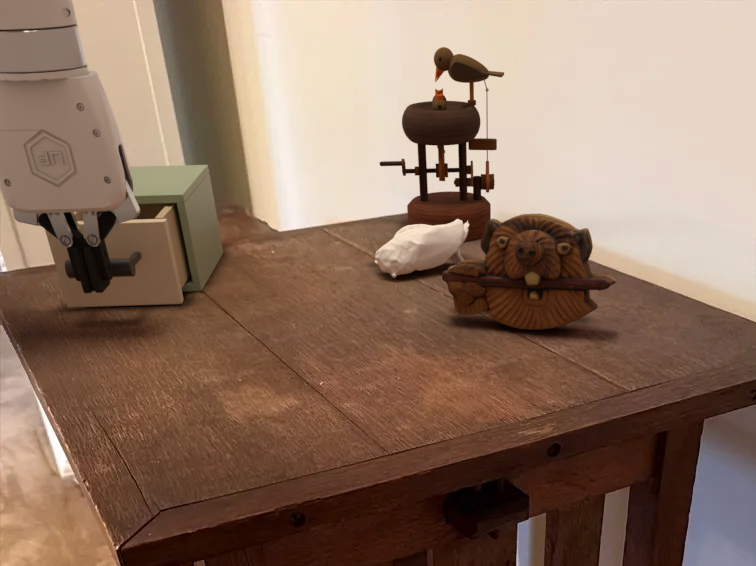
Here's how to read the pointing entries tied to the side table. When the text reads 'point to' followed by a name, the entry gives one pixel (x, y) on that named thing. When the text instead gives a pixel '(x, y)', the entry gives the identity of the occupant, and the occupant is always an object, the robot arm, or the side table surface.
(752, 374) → the side table surface
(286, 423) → the side table surface
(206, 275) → the cabinet
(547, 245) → the wooden carving
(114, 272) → the drawer
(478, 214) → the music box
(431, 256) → the white lumpy oblong piece
